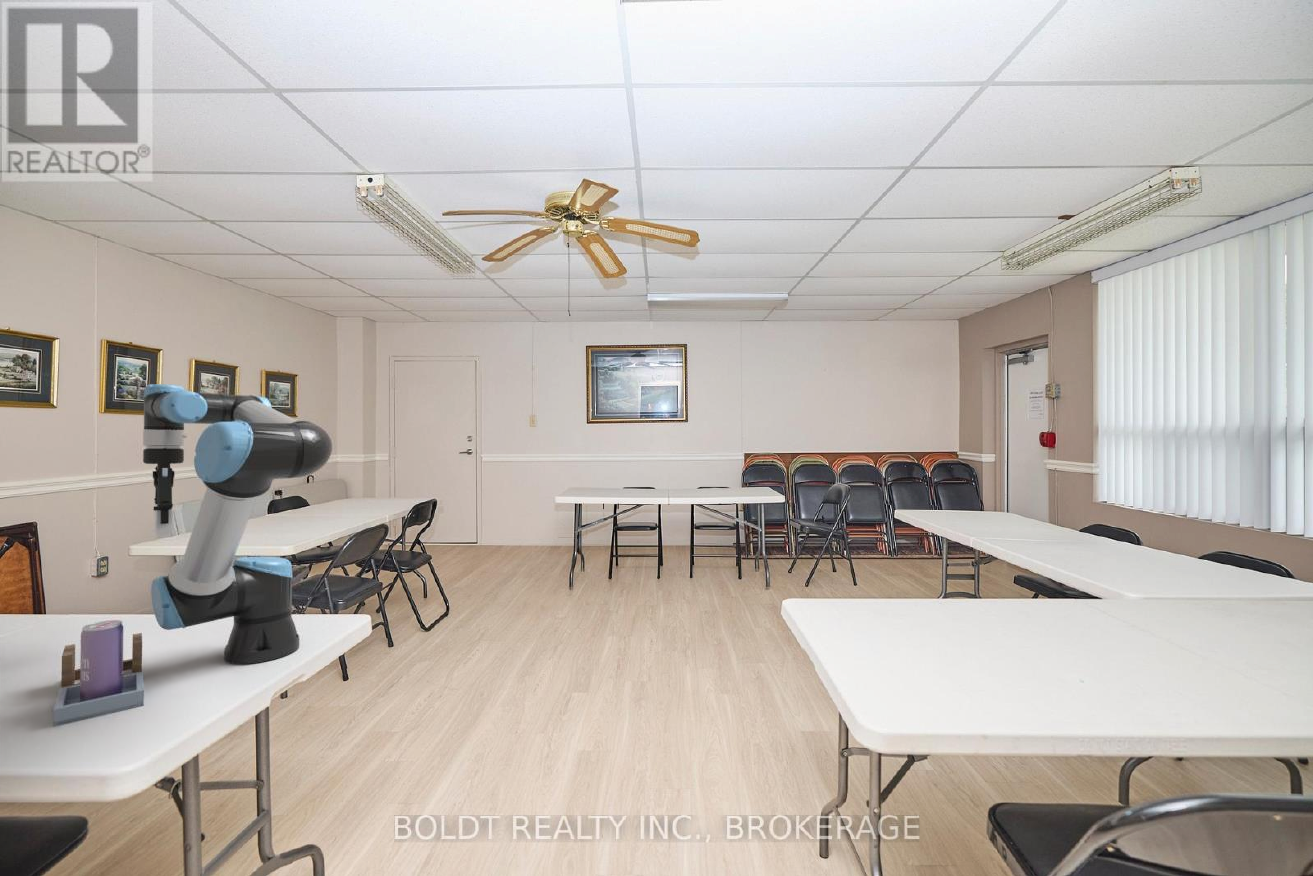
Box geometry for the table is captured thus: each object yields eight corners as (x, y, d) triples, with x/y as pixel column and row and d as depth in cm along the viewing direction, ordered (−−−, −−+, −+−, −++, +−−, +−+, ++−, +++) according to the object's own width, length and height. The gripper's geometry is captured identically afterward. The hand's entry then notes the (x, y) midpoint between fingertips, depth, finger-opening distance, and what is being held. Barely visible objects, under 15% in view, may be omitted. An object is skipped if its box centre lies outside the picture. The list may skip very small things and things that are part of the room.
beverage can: (129, 697, 112) (130, 621, 112) (91, 710, 106) (92, 631, 106) (111, 692, 114) (112, 618, 114) (72, 705, 108) (73, 627, 108)
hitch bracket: (141, 681, 120) (142, 644, 121) (60, 699, 112) (61, 658, 112) (141, 666, 129) (141, 631, 129) (65, 681, 121) (65, 643, 121)
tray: (143, 705, 110) (143, 690, 110) (53, 726, 102) (53, 709, 102) (142, 685, 119) (142, 671, 119) (59, 703, 110) (59, 688, 110)
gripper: (187, 448, 132) (186, 538, 132) (180, 446, 150) (179, 526, 150) (144, 448, 127) (143, 542, 127) (142, 446, 145) (141, 529, 145)
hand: (162, 533), depth 138 cm, fingers open, 13 cm apart
